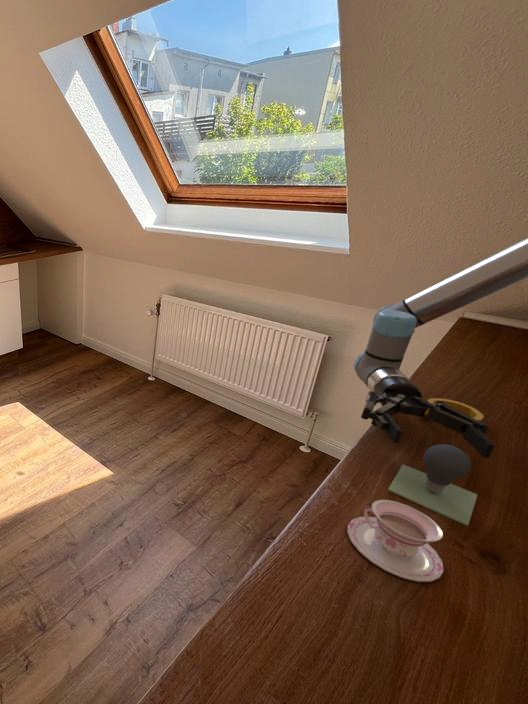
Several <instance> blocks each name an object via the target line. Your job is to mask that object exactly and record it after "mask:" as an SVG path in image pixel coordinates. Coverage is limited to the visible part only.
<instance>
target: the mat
mask: <svg viewBox="0 0 528 704" xmlns="http://www.w3.org/2000/svg"><path fill="white" fill-rule="evenodd" d="M427 479H428V478H427V472H426V473H425V472H423V471H421V470H418V469H415V468H413V467H410V466H409V465H405V464H401V467H400V468H399V470H398V471H397V473H396V475H395V476H394V478H393V480H392V481H391V483H390V484H389V486H388V488H387V491H388V492H390V493H393V494H394V495H397V496H399V497H401V498H402V499H405V500H408V501H411V502H412V503H414V504H416V505H418V506H421V507H423V508H425V509H428V510H430V511H432V512H433V513H434V512H435V513H436V514H439V515H441V516H443V517H445V518H448V519H450V520H452V521H454V522H457V523H459V524H460V525H463V526H465V527H469V524H470V521H471V518H472V514H473V510H474V509H475V504H476V502H477V498H478V493H475V492H472V491H470V490H468V489H465V488H463V487H460V486H458V485H455V484H453V483H450V484H449V485H447V486H445V488H444V490H443V491H442V492H441V493H434V492H431V491H430V490H428V489H427V488H426V485H425V484H426V481H427Z"/></svg>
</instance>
